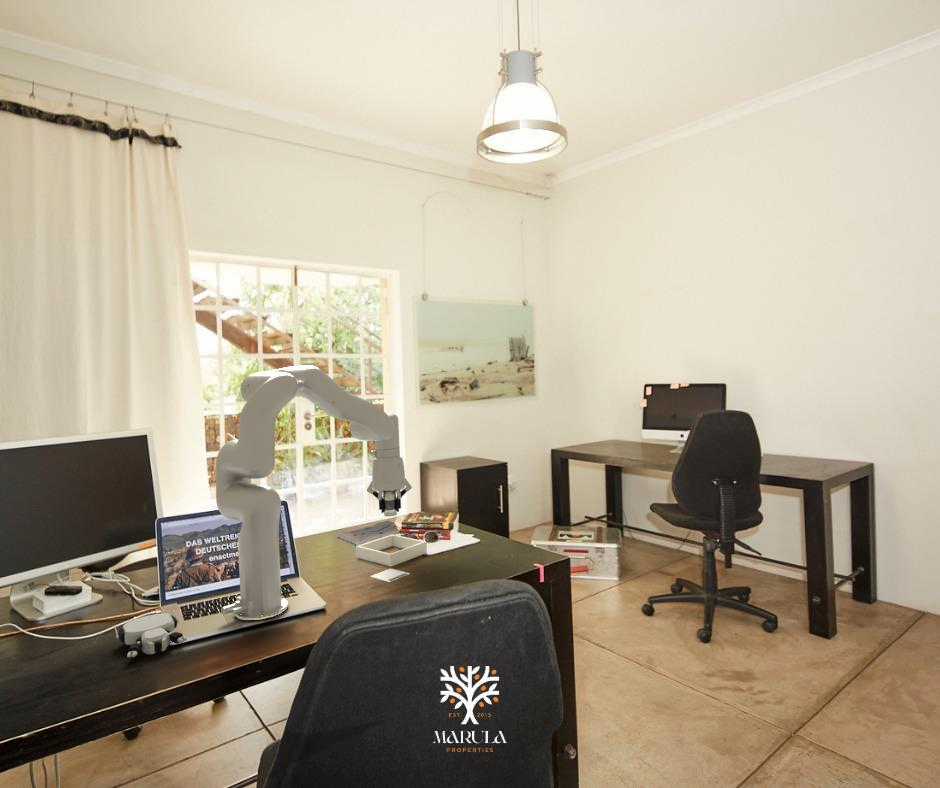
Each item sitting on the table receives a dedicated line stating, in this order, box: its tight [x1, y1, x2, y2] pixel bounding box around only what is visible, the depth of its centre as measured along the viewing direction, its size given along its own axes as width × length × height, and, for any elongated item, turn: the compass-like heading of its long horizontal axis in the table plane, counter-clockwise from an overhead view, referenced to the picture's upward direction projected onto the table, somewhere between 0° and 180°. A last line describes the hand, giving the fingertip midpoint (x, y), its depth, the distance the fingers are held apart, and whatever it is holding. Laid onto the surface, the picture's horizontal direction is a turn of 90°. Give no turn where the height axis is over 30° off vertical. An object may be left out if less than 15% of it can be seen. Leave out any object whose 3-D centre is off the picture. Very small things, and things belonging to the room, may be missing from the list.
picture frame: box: [336, 520, 399, 546], centre depth 209 cm, size 16×2×22 cm
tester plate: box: [369, 568, 411, 583], centre depth 164 cm, size 8×8×1 cm
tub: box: [355, 534, 428, 567], centre depth 182 cm, size 16×16×4 cm
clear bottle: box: [382, 490, 398, 517], centre depth 181 cm, size 4×4×9 cm
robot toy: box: [113, 610, 188, 658], centre depth 127 cm, size 12×4×15 cm
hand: (390, 510), depth 182 cm, fingers closed on clear bottle, 4 cm apart
